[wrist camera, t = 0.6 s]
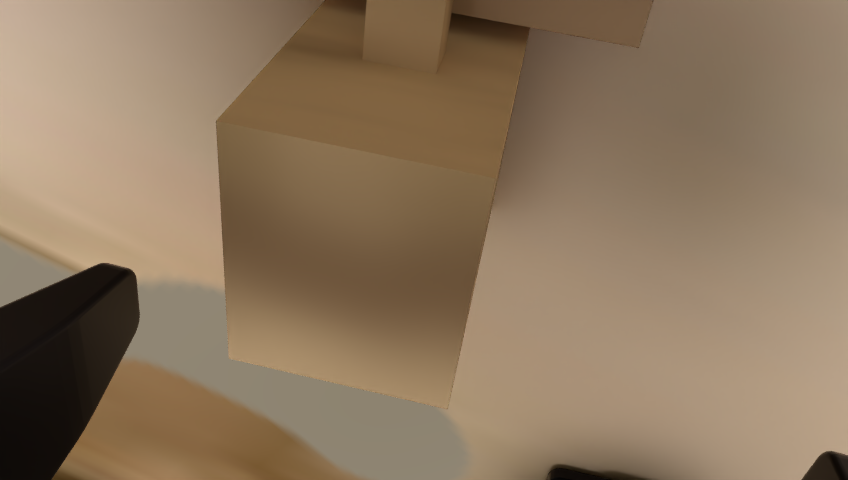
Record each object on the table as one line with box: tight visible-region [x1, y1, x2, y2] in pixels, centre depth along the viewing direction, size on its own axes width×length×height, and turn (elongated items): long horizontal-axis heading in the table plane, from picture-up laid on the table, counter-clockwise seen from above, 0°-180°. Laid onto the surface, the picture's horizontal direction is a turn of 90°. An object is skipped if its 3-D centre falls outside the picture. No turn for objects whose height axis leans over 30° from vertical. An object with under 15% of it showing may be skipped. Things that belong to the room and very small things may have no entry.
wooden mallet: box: [216, 0, 530, 409], centre depth 16 cm, size 14×5×8 cm, turn 173°
